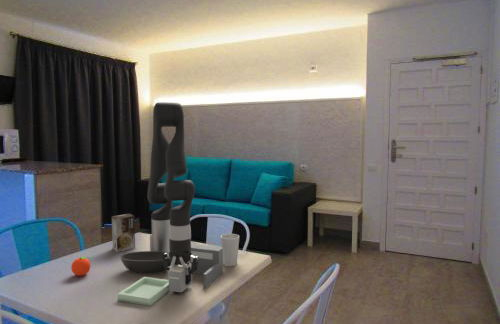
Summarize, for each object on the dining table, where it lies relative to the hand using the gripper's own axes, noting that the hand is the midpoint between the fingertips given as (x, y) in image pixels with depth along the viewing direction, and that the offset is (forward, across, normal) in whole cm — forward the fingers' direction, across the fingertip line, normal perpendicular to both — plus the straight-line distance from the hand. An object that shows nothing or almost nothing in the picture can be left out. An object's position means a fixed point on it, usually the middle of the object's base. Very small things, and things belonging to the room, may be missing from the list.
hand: (180, 282), depth 133 cm
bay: (+3, 0, +12) cm, 12 cm away
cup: (+3, +7, +31) cm, 32 cm away
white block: (+1, 0, 0) cm, 1 cm away
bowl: (+3, -22, +13) cm, 26 cm away
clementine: (+3, -44, +1) cm, 44 cm away
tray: (+3, -10, -6) cm, 12 cm away
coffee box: (+3, -49, +34) cm, 60 cm away
